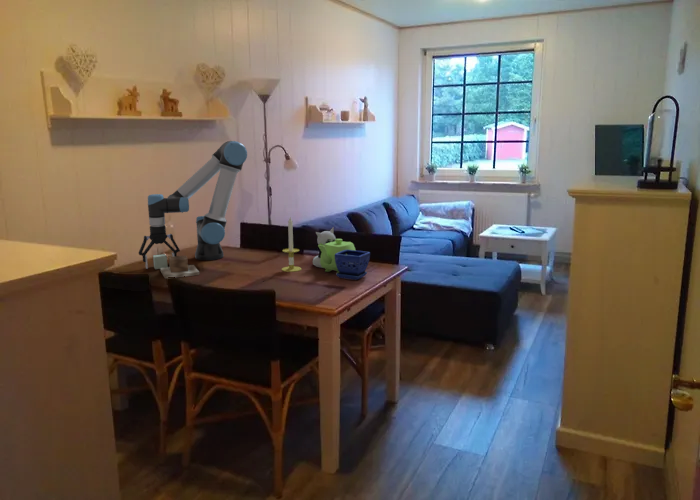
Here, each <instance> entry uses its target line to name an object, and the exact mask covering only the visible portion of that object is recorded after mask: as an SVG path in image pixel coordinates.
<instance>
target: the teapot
mask: <svg viewBox="0 0 700 500" xmlns="http://www.w3.org/2000/svg"><path fill="white" fill-rule="evenodd" d="M317 248H319V251H320V250H321V252H322V253H321V258H320V264H321V266H322V267H323V268H322V269H325V270H324V272H326V273H329V272H332V271H336V274H337V273H338V272H339V271H338V269H337V266H336V262H335V254H336V253H338V252H341V251H344V250H356V247H355V244H354V243H353V242H351V241H343V239H342V238H336V239H335V242H330V243H326V244H325V245H323V244H322V243H321V244H319V245H317ZM346 255H347V253H346Z"/></svg>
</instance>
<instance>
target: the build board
mask: <svg viewBox="0 0 700 500" xmlns="http://www.w3.org/2000/svg"><path fill="white" fill-rule="evenodd" d="M159 270H160V272H161V274H162V276H163V277H164V279H166V280H167V279H169V278H168V277H175V278H184V276H185V277H191V276H192V277H193V276H200V271H199V269H198V268H197V267H196V266H195V264H188V271H183V272H172V273H171V271H170V266H168V267H166V268H160V269H159Z"/></svg>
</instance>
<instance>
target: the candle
mask: <svg viewBox="0 0 700 500" xmlns="http://www.w3.org/2000/svg"><path fill="white" fill-rule="evenodd" d="M287 223H288V229H287V230H288V232H287V233H288V248H283V249H282V252H283V253H287V254H288V266H283V267H281V271H282V272H286V273H287V272H289V273H294V272H300V271H302V268H301V267H300V266H295V263H294V262H295V254H294V253H298V252H300V249H299V248H294V234H293V233H294V232H293V230H294V229H293V226H294V225H293V220H292V217H291V216H289V218H288V221H287Z"/></svg>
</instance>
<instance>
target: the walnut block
mask: <svg viewBox="0 0 700 500" xmlns="http://www.w3.org/2000/svg"><path fill="white" fill-rule="evenodd" d="M168 261H169V267H170V271H171V273H172V272H183V271H188V265H189V264H188V263H189V262H188V261H189V260H188V256H187V255H177V256H174V257H172V256H168Z"/></svg>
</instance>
